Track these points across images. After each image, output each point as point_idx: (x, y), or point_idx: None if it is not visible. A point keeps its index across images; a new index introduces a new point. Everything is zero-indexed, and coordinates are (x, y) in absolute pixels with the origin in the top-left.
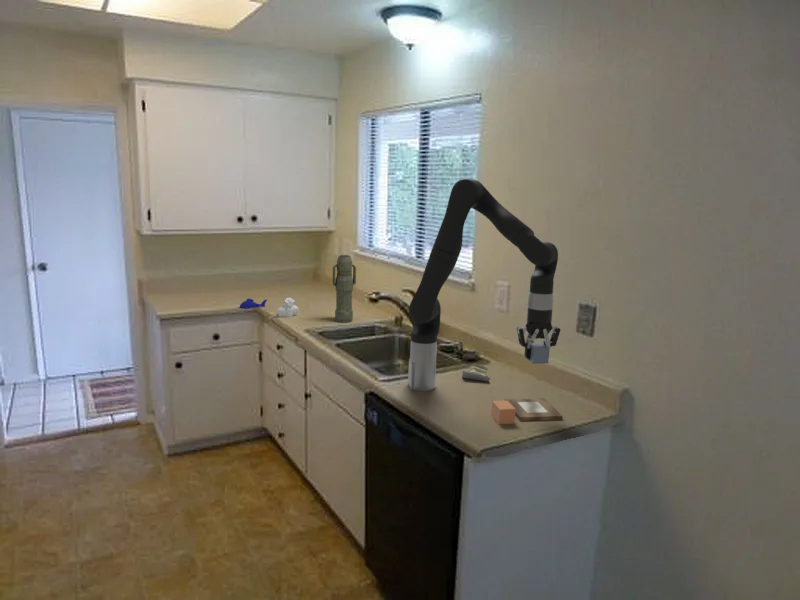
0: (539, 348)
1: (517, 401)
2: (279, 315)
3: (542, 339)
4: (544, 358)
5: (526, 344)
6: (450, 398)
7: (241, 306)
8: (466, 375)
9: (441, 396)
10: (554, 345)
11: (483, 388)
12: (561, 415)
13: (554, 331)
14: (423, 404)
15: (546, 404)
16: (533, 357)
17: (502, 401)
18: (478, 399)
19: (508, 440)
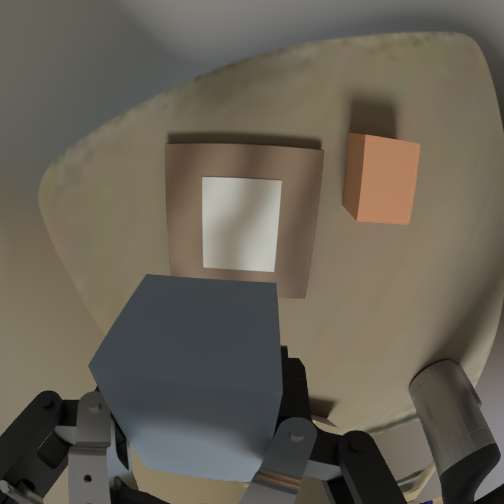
0: (207, 384)
1: (270, 279)
2: (417, 501)
3: (133, 480)
4: (167, 301)
5: (317, 455)
6: (420, 328)
7: (432, 502)
8: (325, 420)
9: (430, 339)
10: (49, 395)
11: (309, 378)
12: (167, 147)
13: (12, 497)
14: (483, 298)
15: (181, 244)
16: (278, 317)
17: (379, 213)
18: (362, 320)
19: (406, 39)
